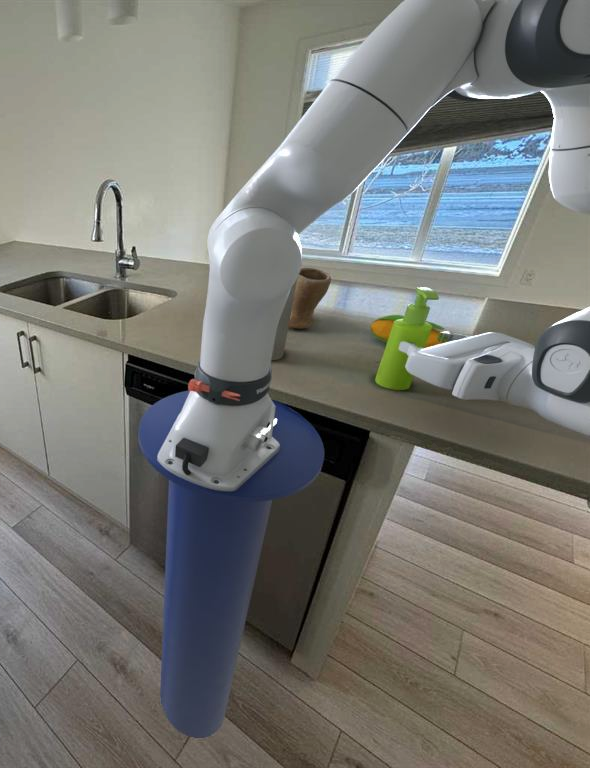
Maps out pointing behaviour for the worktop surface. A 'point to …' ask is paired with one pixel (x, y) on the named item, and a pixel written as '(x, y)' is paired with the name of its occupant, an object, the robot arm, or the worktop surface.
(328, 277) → the stone cup
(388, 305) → the worktop surface
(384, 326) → the corn
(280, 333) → the thermos bottle
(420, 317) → the soap dispenser
